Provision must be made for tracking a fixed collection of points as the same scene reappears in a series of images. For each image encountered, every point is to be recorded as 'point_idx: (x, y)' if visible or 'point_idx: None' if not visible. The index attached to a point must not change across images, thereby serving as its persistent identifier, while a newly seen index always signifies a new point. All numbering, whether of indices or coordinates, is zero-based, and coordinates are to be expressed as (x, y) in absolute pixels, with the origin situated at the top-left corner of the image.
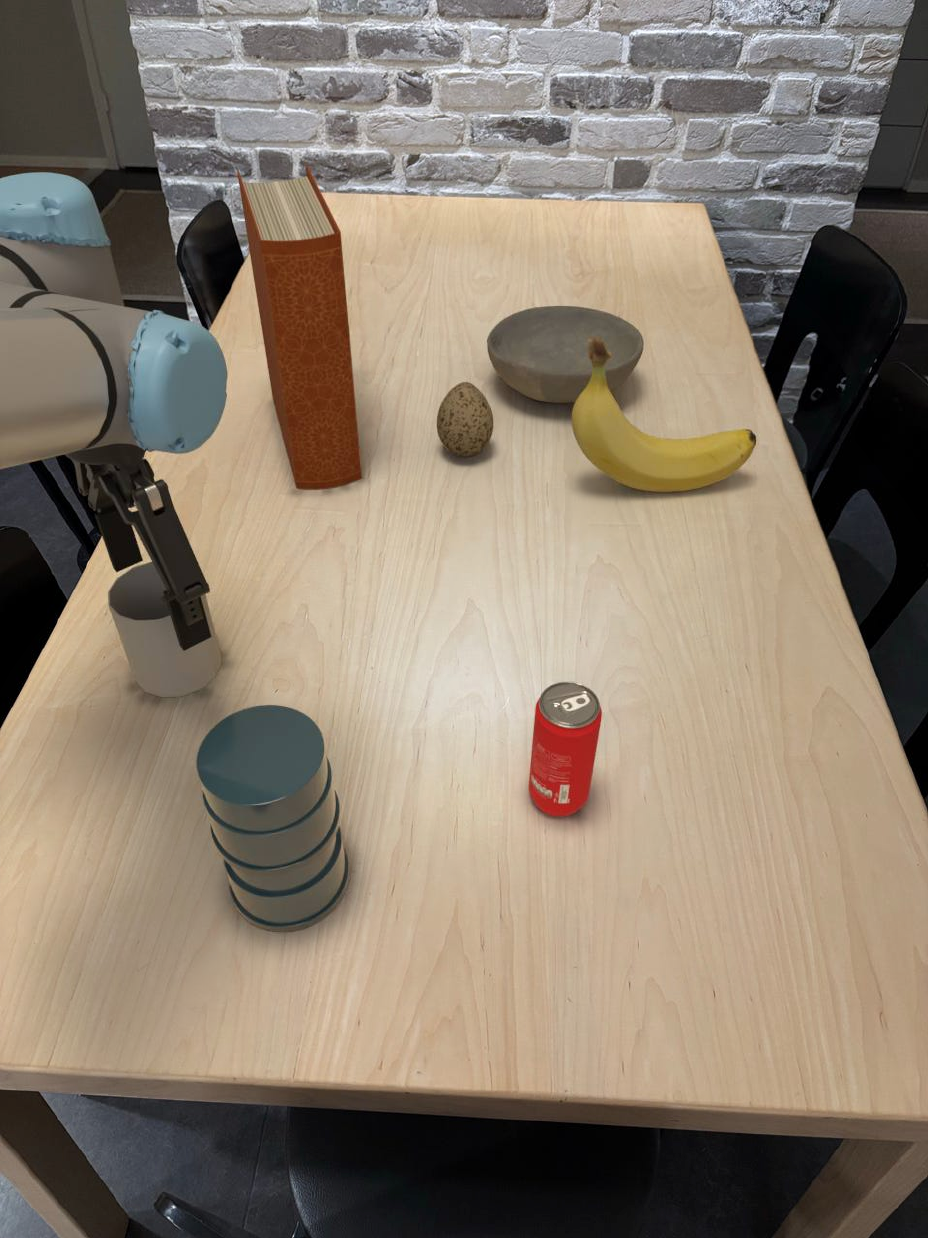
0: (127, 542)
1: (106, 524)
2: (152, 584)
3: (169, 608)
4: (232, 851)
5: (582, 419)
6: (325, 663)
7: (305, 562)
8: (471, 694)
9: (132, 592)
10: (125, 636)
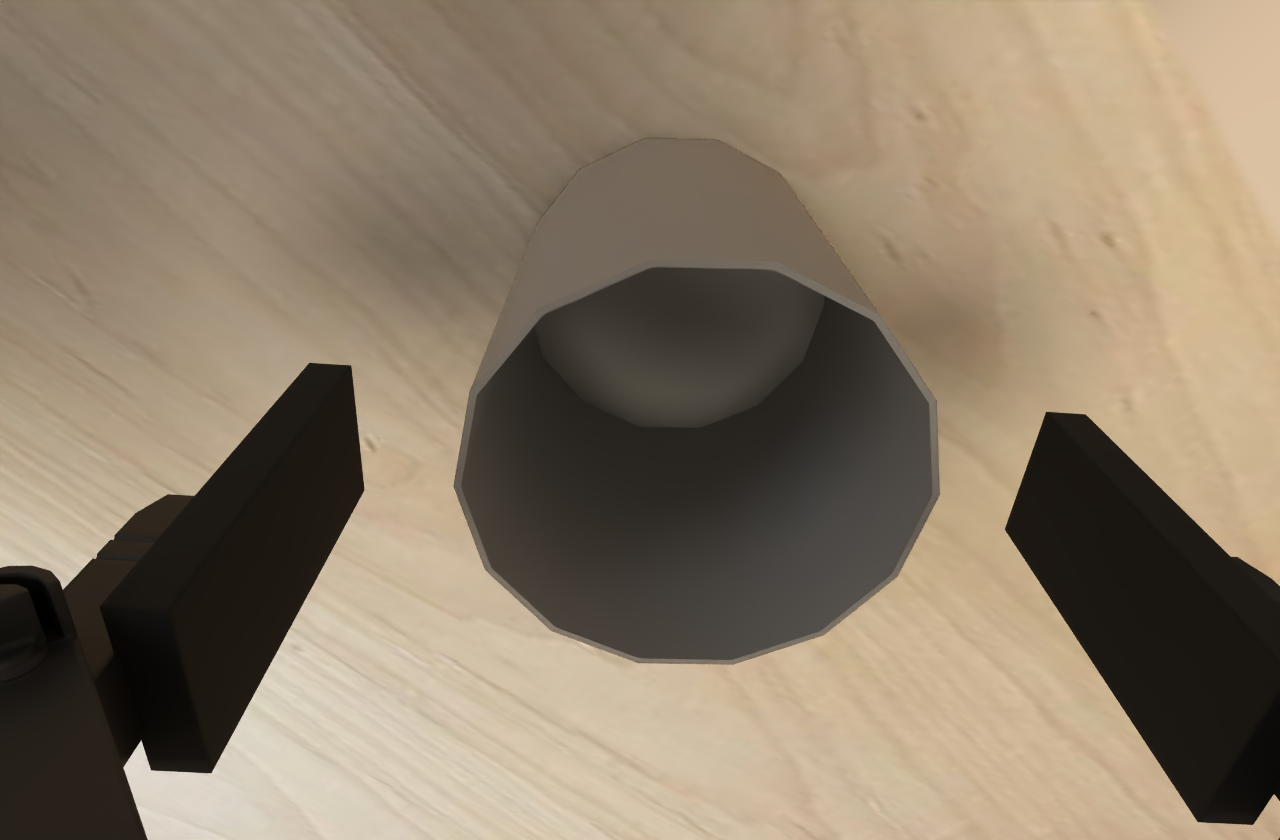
0: (1083, 583)
1: (1217, 646)
2: (869, 472)
3: (208, 519)
4: None
5: None
6: (386, 585)
7: (770, 742)
8: None
9: (893, 389)
10: (650, 213)
